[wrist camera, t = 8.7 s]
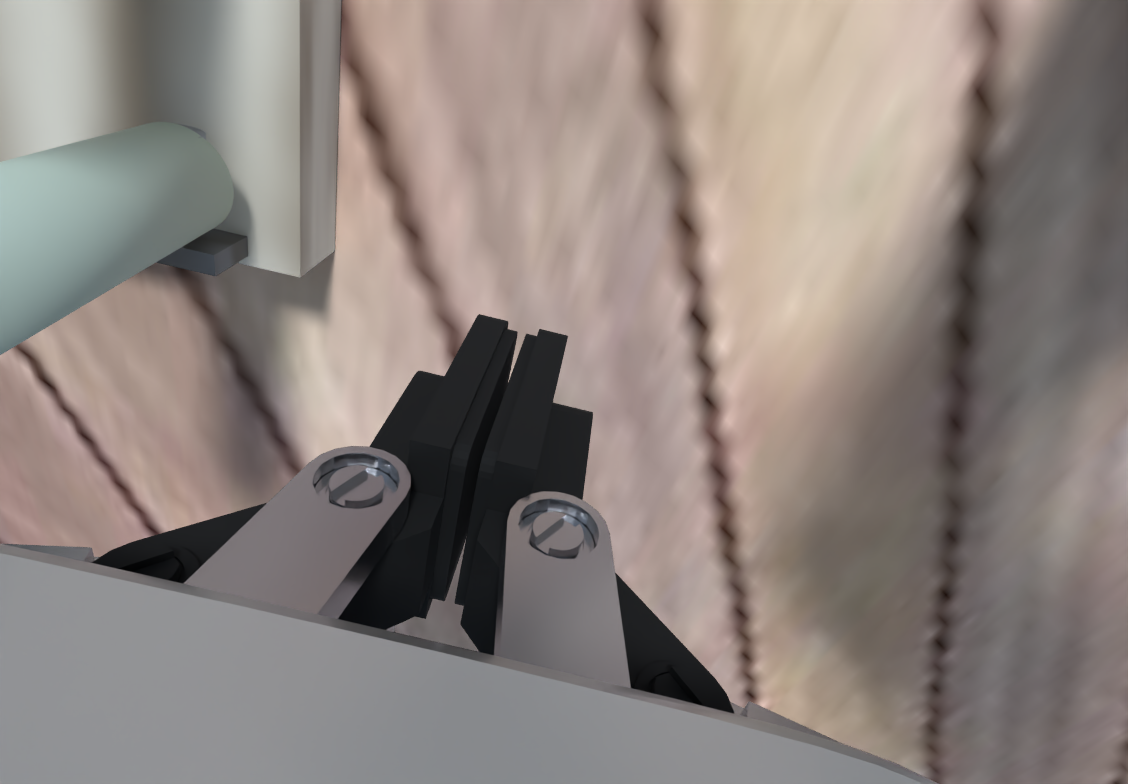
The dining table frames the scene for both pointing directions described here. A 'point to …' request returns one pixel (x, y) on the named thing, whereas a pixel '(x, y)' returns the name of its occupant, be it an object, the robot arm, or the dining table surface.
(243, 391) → the dining table surface
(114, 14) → the stool
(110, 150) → the hinged leg
